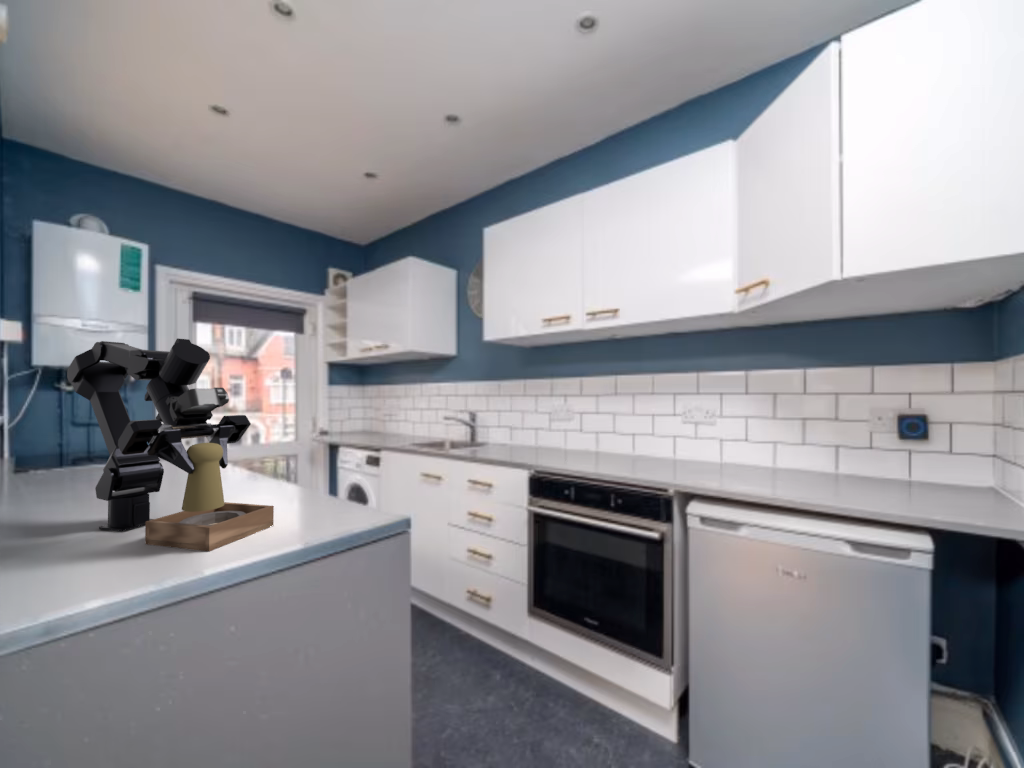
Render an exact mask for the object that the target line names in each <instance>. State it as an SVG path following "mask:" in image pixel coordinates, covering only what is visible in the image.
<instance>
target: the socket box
mask: <svg viewBox="0 0 1024 768" xmlns="http://www.w3.org/2000/svg"><path fill="white" fill-rule="evenodd" d="M274 507H275V506H274V505H267V504H266V505H265V504H264V505H263V504H253V503H243V502H242V503H241V502H225V501H224V506H222V507H220V508H217V509H212V510H207V511H198V512H188V511H183V510H182V511H180V512H179V511H178V512H175V513H171V514H168V515H167V514H166V515H164V516H159V517H157V518H152V519H153V520H150V521H146V525H144V526H145V531H144V533H145V537H144V541H145V542H144V544H145V545H148V546H149V545H150V546H156V547H166V548H175V549H182V550H183V549H184V550H194V551H201V552H203V551H204V552H212V551H214V550H216V549H219V548H222V547H224V546H226V545H230V544H232V543H233V542H236V541H239V540H242V539H245V538H247V537H249V536H252V535H254V534H257V533H259V532H261V530H262V531H264V530H267V529H269V528H271V527H270V526H272V525H273V526H274V515H275V514H274V509H275V508H274ZM273 526H272V527H273ZM268 527H269V528H268ZM266 528H267V529H266ZM263 529H264V530H263ZM256 532H257V533H256Z"/></svg>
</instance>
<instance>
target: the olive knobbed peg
mask: <svg viewBox="0 0 1024 768" xmlns="http://www.w3.org/2000/svg"><path fill="white" fill-rule="evenodd" d="M186 452H187V453H188V455H189V457H190V459H191V461H192V463H193V466H194V469H195V470H194V472H193V473H192V474H189V473H187V479H186V485H185V490H184V496H183V500H182V501H183V502H182V506H181V510H182V511H188V512H198V511H207V510H212V509H217V508H220V507H222V506H224V502H225V499H224V490H223V481H222V476H221V475H222V473H221V469H220V467H221V466H220V465H219V461H220V459H221V458H222V456H223V448H222V447H221V445H219V444H216V443H209V442H200V443H195V444H191V445H190V446H189V447H188V448H187V449H186Z"/></svg>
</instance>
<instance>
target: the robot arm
mask: <svg viewBox="0 0 1024 768" xmlns="http://www.w3.org/2000/svg"><path fill="white" fill-rule="evenodd" d="M210 359H211V356H210V353H209V352H208V351H207V350H205V348H203V347H202V346H200V345H197V344H195V343H192V341H191V340H190V339H188V338H176V340H175V341H174V343H173V345H172V346H171V348H170V350H169V351H165V350H164V351H163V350H152V349H141V348H139V347H135V346H131V345H130V344H128V343H127V344H126V343H125V342H119V341H117V342H116V341H106V340H105V341H104V340H101V341H97V342H95V343H94V345H92V347H91V348H90V349H88V350H86V351H84V352H82V353H80V354H77V355H76V356H74V358H73V360H72V361H71V362H70V364H69V366H68V367H67V373H66V375H67V376H66V378H67V380H68V382H69V383H71V386H72V388H73V390H74V391H75V393H76V394H77V395H79V396H81V397H82V398H84V399H85V400H86V399H87V400H88V401H90V404H91V407H92V410H93V412H94V415H95V418H96V420H97V421H96V422H97V423H98V427H99V429H100V431H101V434H102V437H103V440H104V443H105V446H106V448H107V452H108V453H109V457H108V459H107V461H106V464H105V466H104V467H103V473H102V474H101V476H100V478H99V480H98V482H97V484H96V486H95V495H96V498H97V500H102V501H106V502H107V523H106V524H103V525H100V526H98V529H99V530H102V531H103V530H104V531H105V530H106V531H113V532H126V531H129V530H133V529H137V528H140V527H143V526H145V525H146V521H150V520H153V519H154V518H151V514H150V513H151V502H150V494H151V493H158V492H160V490H161V487H162V484H163V483H162V482H163V478H164V473H165V470H164V466H163V464H162V463H161V462H160V461H161V460H163V461H166V462H168V463H170V464H171V465H173V466H175V467H177V468H178V469H179V470H182V471H183V472H186V473H187V474H188V473H189V474H192V473H193V472H194V470H195V469H194V466H193V463H192V461H191V459H190V457H189V455H188V453H187V449H186V448H185V445H184V444H183V442H182V440H186V439H197V438H206V439H207V441H208V443H216V444H219V445H221V447H222V448H223V456H222V458H221V459H220V461H219V465H220V467H221V469H226V468H227V466H228V444H235V443H238V442H240V441H241V439H242V437H244V435H245V433H246V432H247V430H248V429H249V428H250V426H251V421H250V420H249V418H248V417H247V416H246V414H237V415H236V414H234V415H232V414H231V415H223V416H222V418H221V419H220V420H219V422H218V423H217V424H216V423H215V424H212V423H209V422H207V421H208V420H209V421H210V420H211V419H212V418H213V416H214V414H213V413H212V412H213V411H214V410H216V409H217V408H220V407H224V406H225V405H227V404H228V403H229V401H230V398H229V394H228V392H227V391H226V389H225V388H224V387H213V388H189V387H188V386H190V385H191V386H192V385H194V384H196V383H197V381H198V379H199V378H200V377H201V374H202V373H203V372H204V369H205V368H206V366H207V364H208V362H209V361H210ZM128 375H129V377H132V378H133V379H134V380H136V381H149V382H148V383H147V385H146V393H144V401H145V402H152V404H153V405H154V407H155V409H156V412H157V414H156V416H155V418H154V419H153V418H152V419H137V420H131V418H130V416H129V412H128V410H127V408H126V405H125V403H124V400H123V398H122V395H121V392H120V390H121V387H122V386H123V384H124V382H125V381H126V378H127V376H128Z"/></svg>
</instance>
